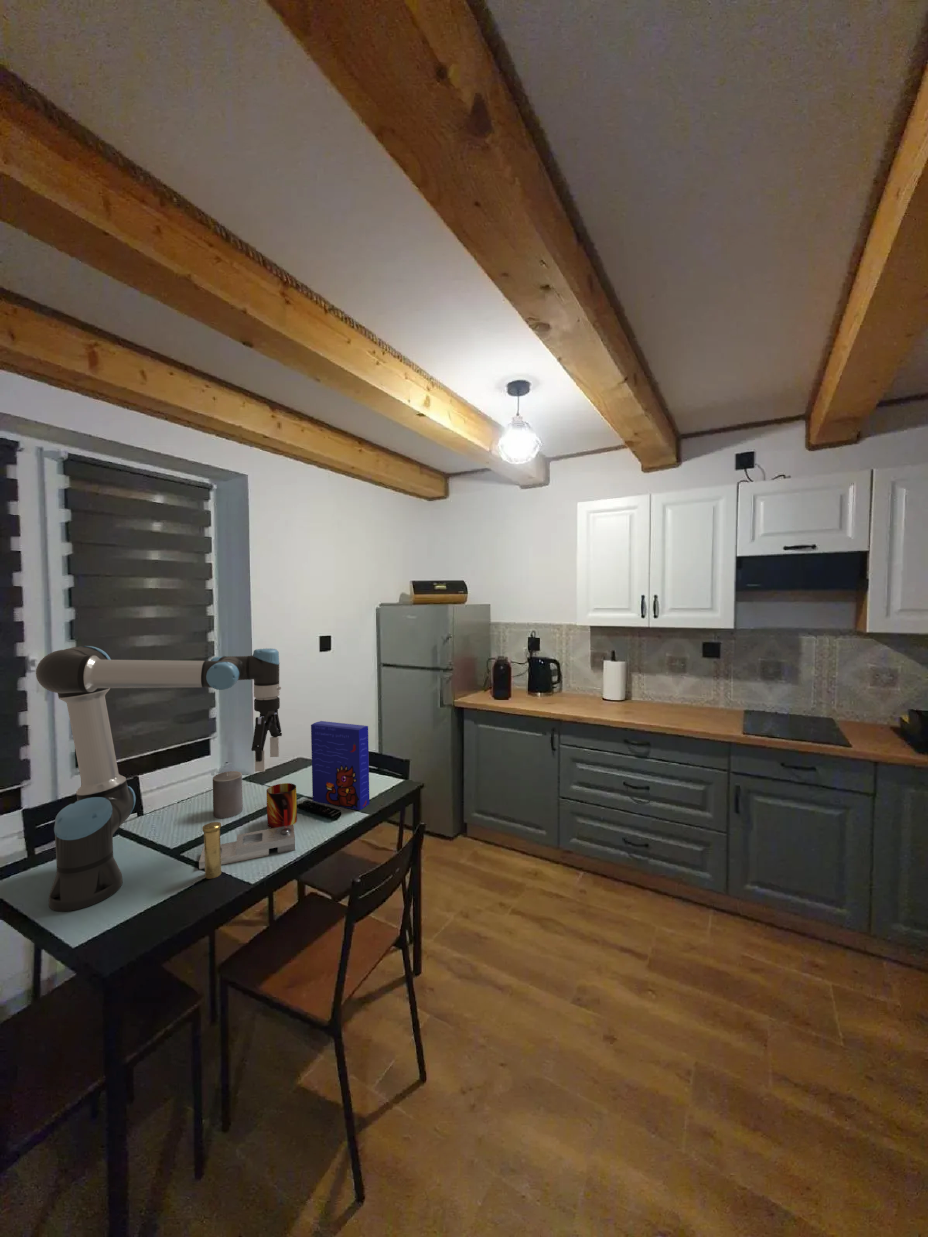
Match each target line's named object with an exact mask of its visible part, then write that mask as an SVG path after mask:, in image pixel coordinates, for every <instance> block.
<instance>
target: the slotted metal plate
mask: <svg viewBox="0 0 928 1237" xmlns="http://www.w3.org/2000/svg"><path fill="white" fill-rule="evenodd" d="M295 834H296V833H295V827H294V825H288V826H283V827H277V828H272V829H271V828H267V829H261V830H257V831H251V832H244V833H240V834H237V835H236V841H231V842H225V843H220V846H221V866H223V865H228V864H233V863H238V862H243V861H247V860H248V861H249V860H252V859H257V858H263V857H267V856H270V849H274V848H275V849H276V848H277V854H282V853H287V852H292V851H296V835H295ZM198 868H199V869H198V870H202V869H204V870H205V854H204V846H203V847H202V851H201V854H200V858H199V861H198Z"/></svg>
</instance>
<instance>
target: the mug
mask: <svg viewBox="0 0 928 1237" xmlns="http://www.w3.org/2000/svg"><path fill="white" fill-rule="evenodd" d="M297 802H298V800H297V785H296V784H294V783H291V782H284V783H283V782H282V783H278V784H277V783H276V784H273V785H272V786H269V787H268V788H267V789H266V819H267V821H266V825H267V828H268V829H272V828H277V827H283V826H288V825H293V826H294V825H295V824H296V823H297V822H298V818H297V817H298V809H297V808H298V806H297V805H298V804H297Z"/></svg>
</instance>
